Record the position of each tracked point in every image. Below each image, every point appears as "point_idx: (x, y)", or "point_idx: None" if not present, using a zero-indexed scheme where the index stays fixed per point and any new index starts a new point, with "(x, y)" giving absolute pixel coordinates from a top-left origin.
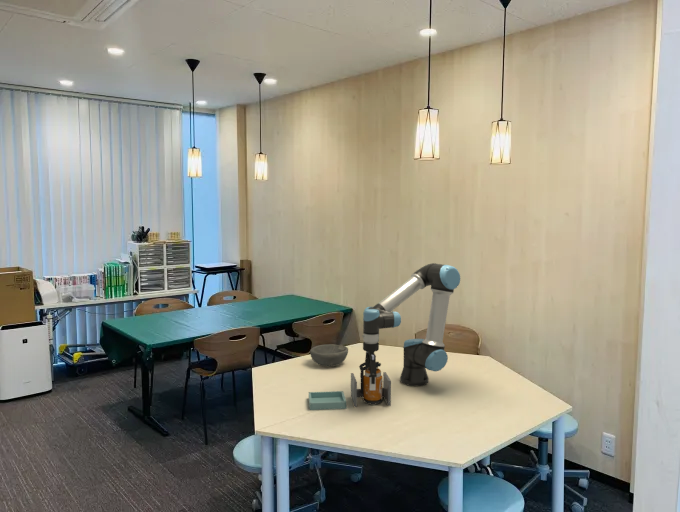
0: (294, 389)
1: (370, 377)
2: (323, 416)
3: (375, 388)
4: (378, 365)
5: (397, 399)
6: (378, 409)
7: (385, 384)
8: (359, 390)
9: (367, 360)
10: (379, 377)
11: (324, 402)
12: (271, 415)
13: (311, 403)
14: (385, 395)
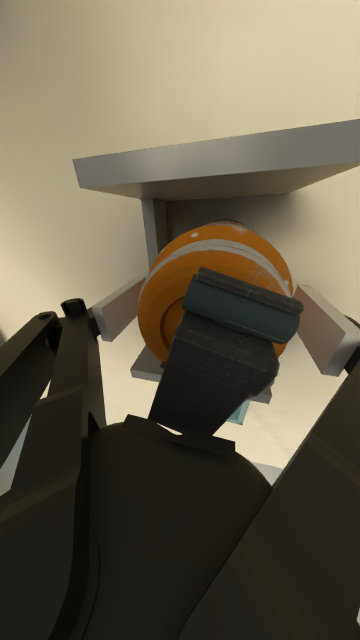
0: (127, 400)
1: (336, 369)
2: (293, 402)
3: (313, 289)
4: (275, 333)
5: (208, 115)
6: (310, 252)
7: (197, 189)
8: None
9: (103, 412)
10: (277, 266)
11: (245, 404)
12: (249, 451)
13: (242, 422)
14: (208, 196)
